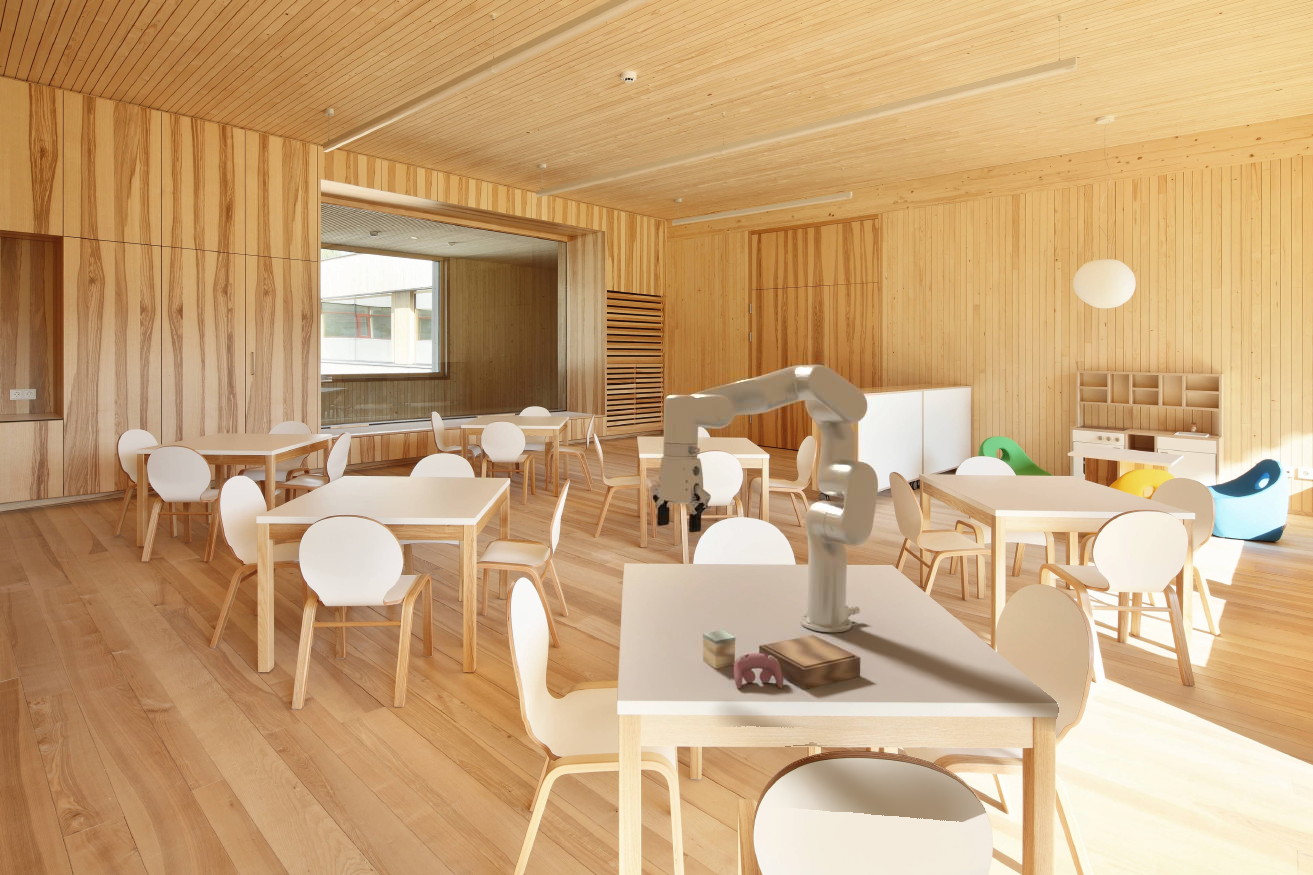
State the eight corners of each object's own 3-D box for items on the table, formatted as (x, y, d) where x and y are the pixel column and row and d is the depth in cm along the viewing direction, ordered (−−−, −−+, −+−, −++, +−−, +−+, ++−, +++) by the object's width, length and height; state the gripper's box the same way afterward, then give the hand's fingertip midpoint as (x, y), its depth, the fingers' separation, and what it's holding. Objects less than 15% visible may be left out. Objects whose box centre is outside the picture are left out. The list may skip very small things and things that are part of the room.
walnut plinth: (812, 652, 164) (813, 633, 164) (859, 675, 151) (860, 655, 150) (758, 663, 157) (759, 644, 157) (803, 689, 144) (803, 668, 143)
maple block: (722, 656, 161) (722, 630, 160) (734, 664, 156) (735, 637, 156) (702, 660, 158) (703, 633, 158) (715, 668, 154) (715, 640, 154)
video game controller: (780, 689, 147) (778, 654, 150) (785, 688, 143) (782, 651, 146) (732, 689, 147) (731, 654, 150) (735, 688, 143) (734, 651, 145)
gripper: (721, 453, 154) (719, 532, 156) (664, 447, 167) (663, 521, 168) (698, 455, 149) (696, 536, 150) (641, 449, 162) (639, 524, 163)
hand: (678, 528), depth 159 cm, fingers open, 9 cm apart
